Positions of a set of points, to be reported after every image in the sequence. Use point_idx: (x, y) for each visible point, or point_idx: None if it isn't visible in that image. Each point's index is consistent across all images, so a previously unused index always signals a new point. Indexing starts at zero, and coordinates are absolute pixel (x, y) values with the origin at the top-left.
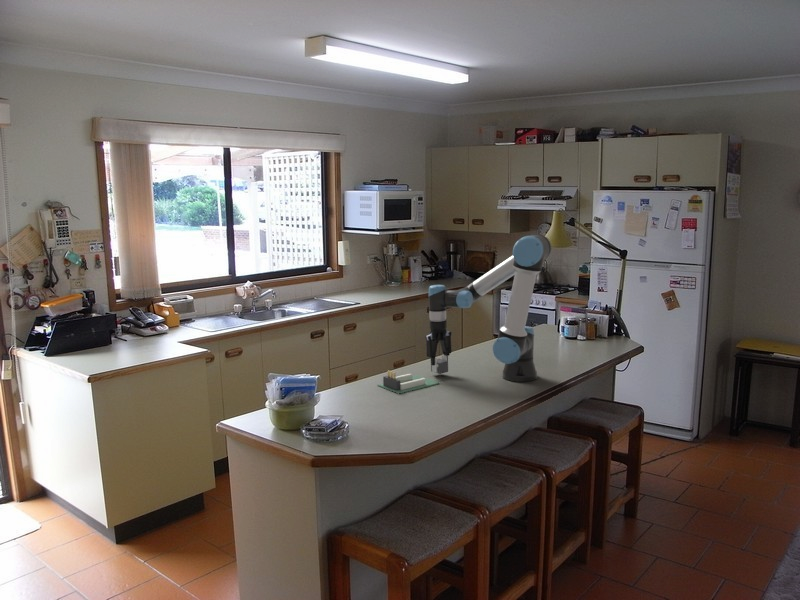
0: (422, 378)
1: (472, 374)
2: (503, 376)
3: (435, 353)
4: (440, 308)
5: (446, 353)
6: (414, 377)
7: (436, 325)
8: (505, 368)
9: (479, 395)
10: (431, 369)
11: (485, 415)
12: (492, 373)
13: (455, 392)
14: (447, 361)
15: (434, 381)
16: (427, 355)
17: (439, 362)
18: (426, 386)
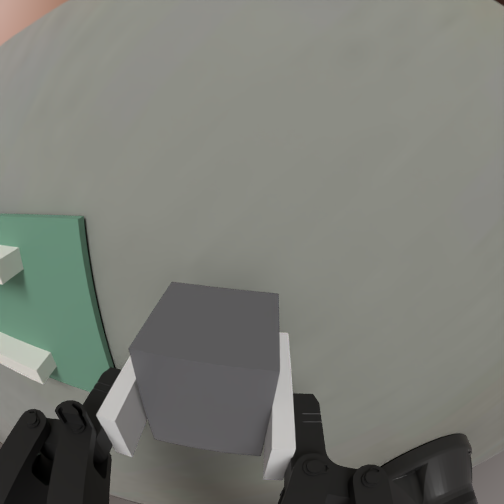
0: (32, 372)
1: (388, 398)
2: (387, 468)
3: (101, 493)
4: None
5: (280, 501)
6: (43, 247)
7: None
8: (394, 494)
9: (181, 487)
10: (165, 297)
11: (120, 496)
12: (436, 418)
13: (133, 454)
14: (254, 452)
15: None
16: (25, 426)
17: (166, 434)
18: (56, 377)
